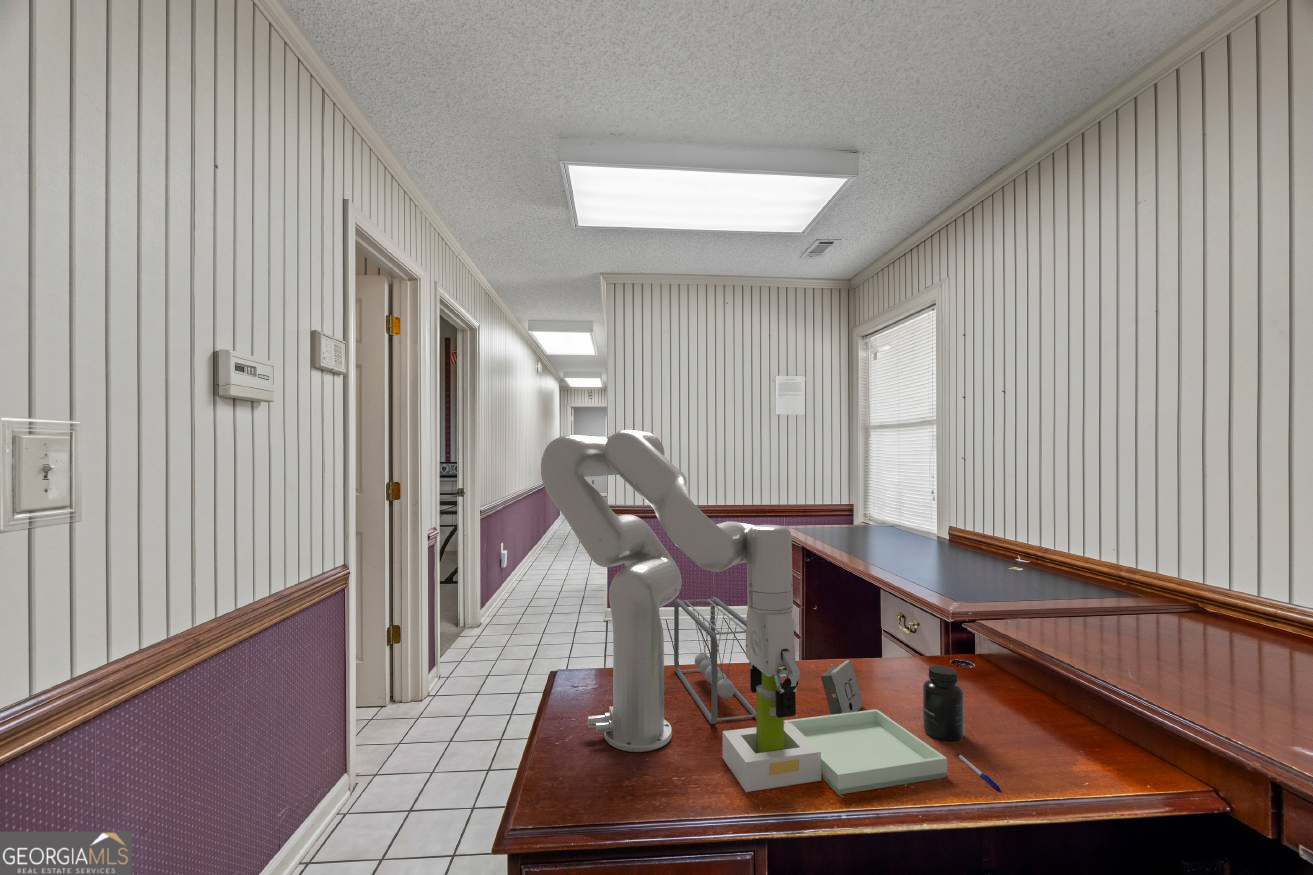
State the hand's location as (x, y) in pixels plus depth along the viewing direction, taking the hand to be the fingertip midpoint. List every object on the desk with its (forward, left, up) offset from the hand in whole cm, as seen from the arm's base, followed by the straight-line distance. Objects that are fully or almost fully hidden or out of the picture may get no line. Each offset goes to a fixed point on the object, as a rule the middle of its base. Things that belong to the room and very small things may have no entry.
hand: (772, 702), depth 91 cm
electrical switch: (+24, +16, -11) cm, 31 cm away
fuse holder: (0, 0, -11) cm, 11 cm away
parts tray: (+17, 0, -11) cm, 20 cm away
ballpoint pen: (+33, -9, -11) cm, 36 cm away
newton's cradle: (+1, +30, -11) cm, 32 cm away
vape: (0, 0, -11) cm, 11 cm away
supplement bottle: (+37, +3, -11) cm, 39 cm away
